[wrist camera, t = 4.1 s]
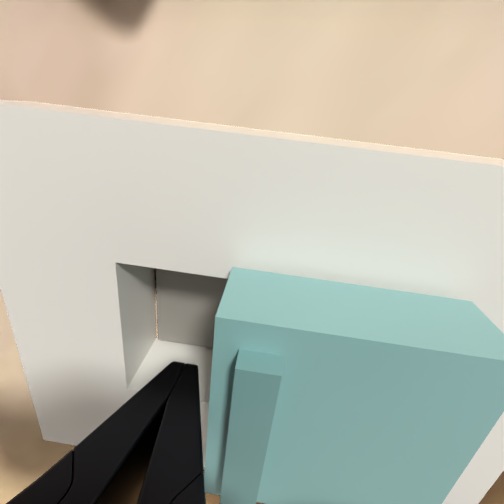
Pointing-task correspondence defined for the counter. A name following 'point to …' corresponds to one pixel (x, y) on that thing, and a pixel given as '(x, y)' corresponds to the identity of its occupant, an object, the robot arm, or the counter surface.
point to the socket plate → (215, 244)
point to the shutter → (346, 392)
